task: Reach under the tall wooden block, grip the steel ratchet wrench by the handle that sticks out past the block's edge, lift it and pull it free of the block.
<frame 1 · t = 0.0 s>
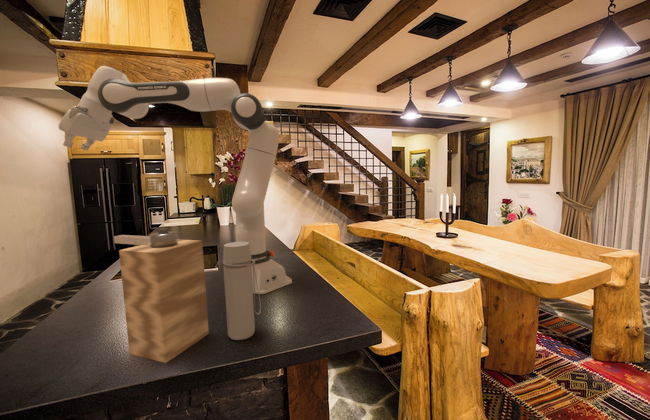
hand: (75, 148, 103), 54 cm above the kitchen island, tool tilted 30°, fingers open, 8 cm apart
wooden block: (171, 343, 79), on the kitchen island
ratchet wrench: (145, 243, 78), point 26 cm above the kitchen island, touching wooden block
water bottle: (245, 334, 83), on the kitchen island
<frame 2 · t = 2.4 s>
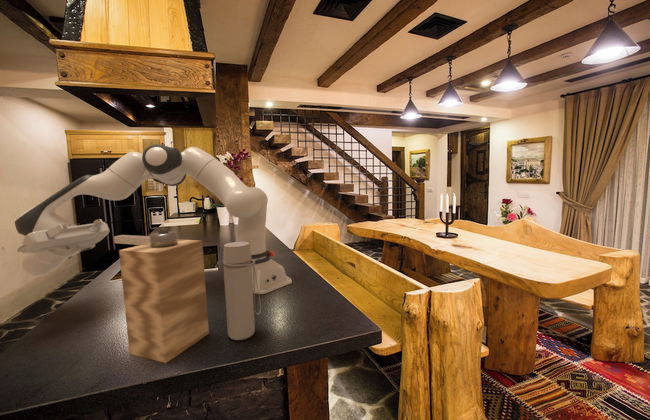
hand: (82, 223, 87), 31 cm above the kitchen island, tool pointing upward, fingers open, 8 cm apart
nothing on the kitchen island moved.
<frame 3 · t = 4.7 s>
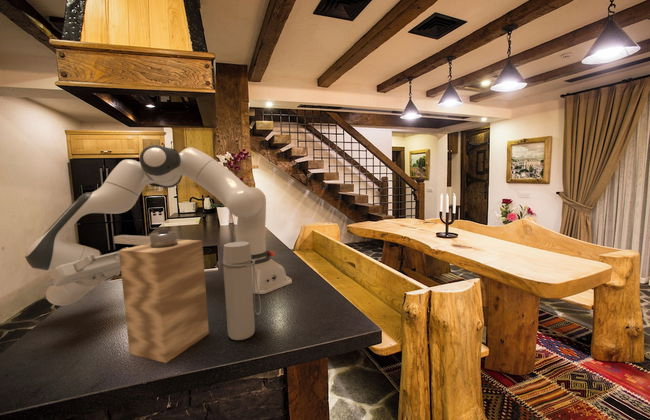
hand: (110, 253, 84), 23 cm above the kitchen island, tool pointing upward, fingers open, 8 cm apart
nothing on the kitchen island moved.
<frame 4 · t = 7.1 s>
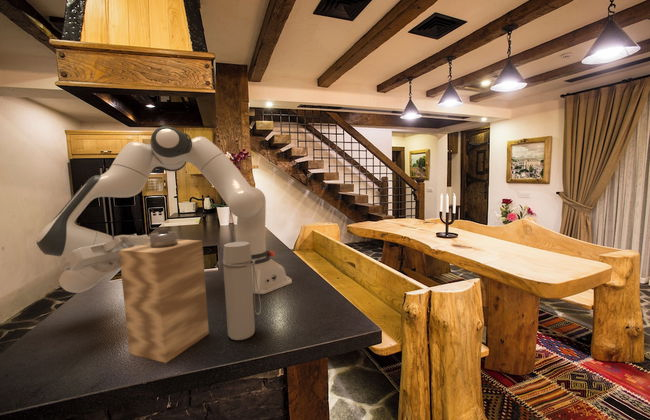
hand: (128, 237, 81), 27 cm above the kitchen island, tool pointing upward, fingers closed on ratchet wrench, 2 cm apart
ratchet wrench: (145, 243, 78), point 26 cm above the kitchen island, touching gripper, wooden block
everything else where it was.
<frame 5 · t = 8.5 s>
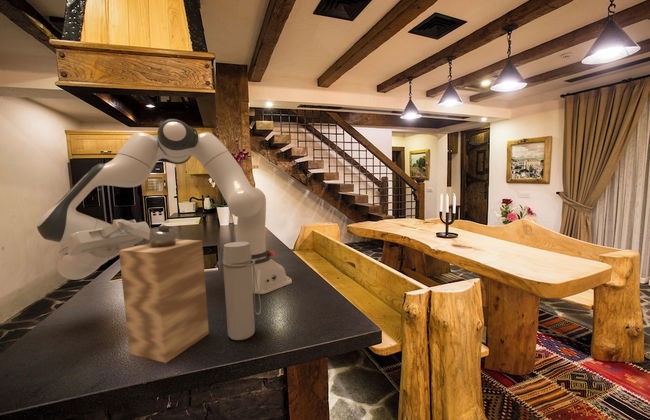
hand: (126, 223, 80), 31 cm above the kitchen island, tool pointing upward, fingers closed on ratchet wrench, 2 cm apart
ratchet wrench: (143, 235, 78), point 28 cm above the kitchen island, tilted 13°, touching gripper, wooden block
everything else where it was.
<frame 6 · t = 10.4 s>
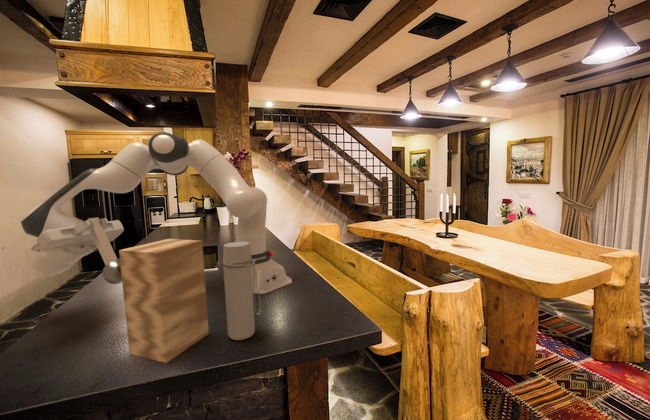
hand: (97, 221, 84), 31 cm above the kitchen island, tool pointing upward, fingers closed on ratchet wrench, 2 cm apart
ratchet wrench: (104, 252, 84), point 23 cm above the kitchen island, tilted 62°, touching gripper
everything else where it was.
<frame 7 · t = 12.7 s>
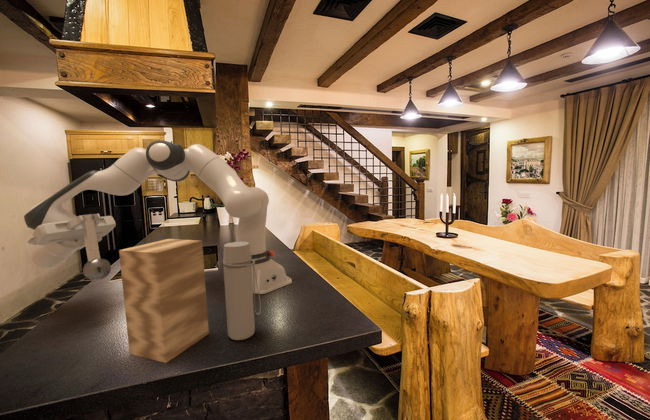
hand: (90, 216, 89), 32 cm above the kitchen island, tool pointing upward, fingers closed on ratchet wrench, 2 cm apart
ratchet wrench: (90, 248, 91), point 23 cm above the kitchen island, tilted 84°, touching gripper
everything else where it was.
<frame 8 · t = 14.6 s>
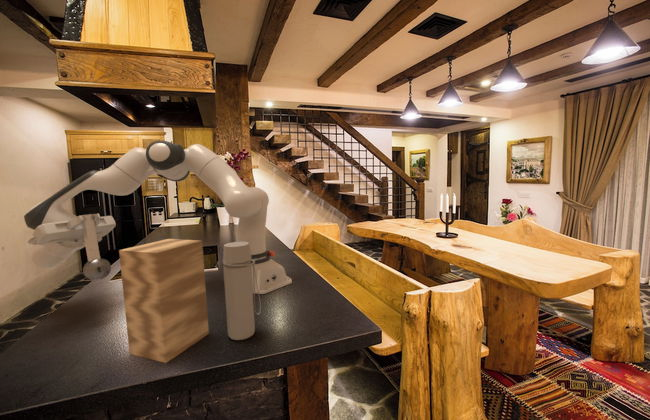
hand: (90, 216, 89), 32 cm above the kitchen island, tool pointing upward, fingers closed on ratchet wrench, 2 cm apart
ratchet wrench: (90, 248, 91), point 23 cm above the kitchen island, tilted 84°, touching gripper
everything else where it was.
at the end: the gripper is holding ratchet wrench; ratchet wrench touching gripper; ratchet wrench moved 27.4 cm from its start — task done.
